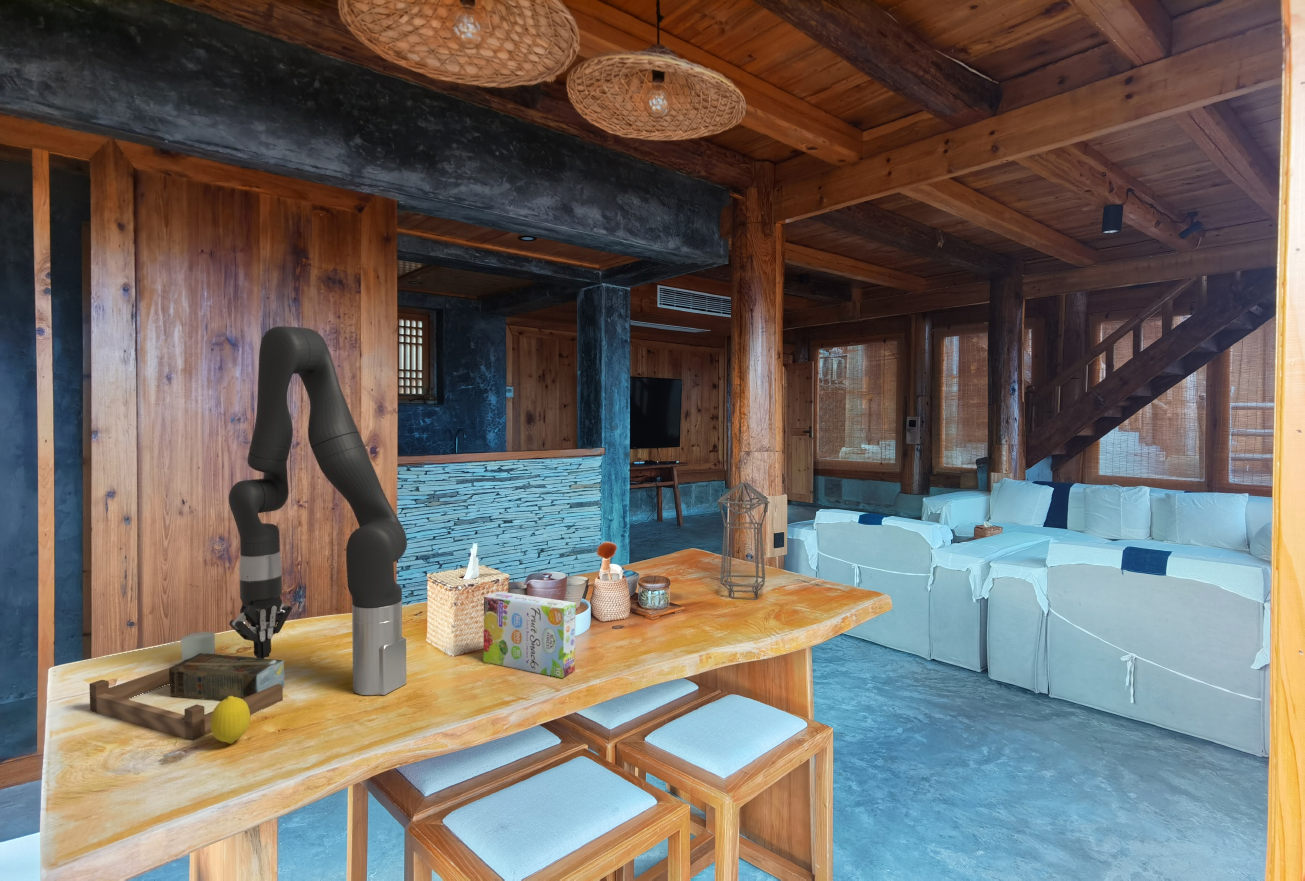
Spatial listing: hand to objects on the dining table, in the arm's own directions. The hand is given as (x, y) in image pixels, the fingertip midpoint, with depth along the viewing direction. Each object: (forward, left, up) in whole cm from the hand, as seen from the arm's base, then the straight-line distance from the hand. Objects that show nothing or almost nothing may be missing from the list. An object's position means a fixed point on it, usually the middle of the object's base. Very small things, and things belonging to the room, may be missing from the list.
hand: (262, 657), depth 136 cm
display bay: (0, +15, -4) cm, 16 cm away
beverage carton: (-1, +8, -5) cm, 9 cm away
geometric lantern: (-77, -101, -4) cm, 127 cm away
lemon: (-21, +22, -4) cm, 30 cm away
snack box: (-48, -26, -4) cm, 55 cm away
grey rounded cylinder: (+19, +1, -4) cm, 20 cm away
